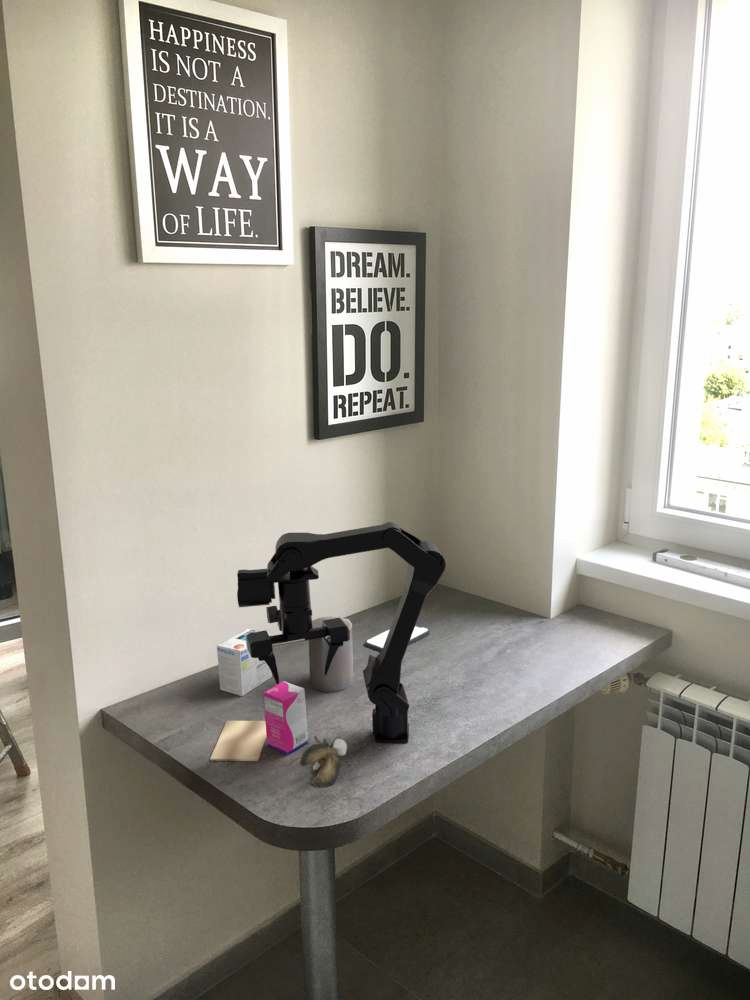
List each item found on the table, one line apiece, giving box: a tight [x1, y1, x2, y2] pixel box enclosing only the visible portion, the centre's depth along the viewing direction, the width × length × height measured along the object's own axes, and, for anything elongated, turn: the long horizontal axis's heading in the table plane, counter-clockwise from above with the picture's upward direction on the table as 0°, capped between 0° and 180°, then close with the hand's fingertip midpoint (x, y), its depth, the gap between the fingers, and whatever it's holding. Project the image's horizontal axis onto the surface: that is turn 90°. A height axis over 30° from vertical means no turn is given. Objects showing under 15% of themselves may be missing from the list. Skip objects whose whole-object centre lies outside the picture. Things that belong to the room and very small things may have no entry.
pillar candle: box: [308, 615, 354, 693], centre depth 184 cm, size 10×10×15 cm
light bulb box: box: [216, 628, 273, 697], centre depth 184 cm, size 11×7×11 cm, turn 149°
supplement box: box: [262, 681, 309, 756], centre depth 159 cm, size 6×6×12 cm
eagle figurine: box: [298, 735, 348, 789], centre depth 150 cm, size 8×7×9 cm
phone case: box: [364, 624, 431, 653], centre depth 207 cm, size 9×2×16 cm
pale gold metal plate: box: [209, 720, 267, 762], centre depth 162 cm, size 9×14×1 cm, turn 177°
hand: (301, 678), depth 158 cm, fingers open, 9 cm apart
